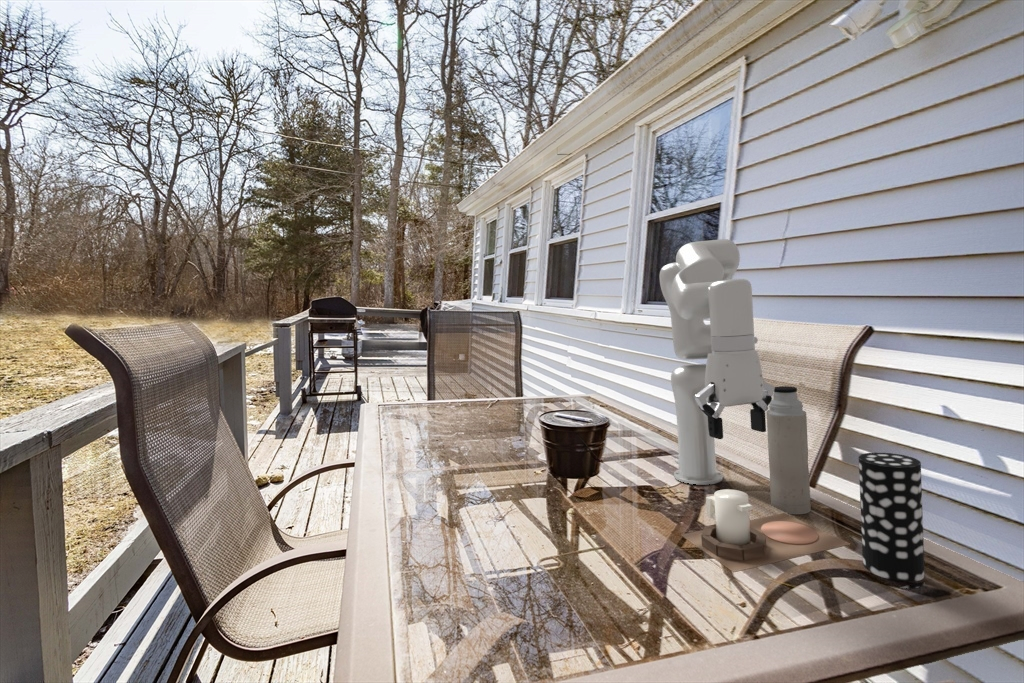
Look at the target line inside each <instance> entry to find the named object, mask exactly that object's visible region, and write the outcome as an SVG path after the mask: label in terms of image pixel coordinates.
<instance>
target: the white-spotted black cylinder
mask: <svg viewBox="0 0 1024 683" xmlns="http://www.w3.org/2000/svg"><path fill="white" fill-rule="evenodd" d="M858 472H859V473H858V479H859V498H860V499H859V500H860V502H859V503H860V504H859V505H860V522H861V523H860V525H861V530H860V531H861V552H862V553H861V554H862V565H863V567H864V568H865V569H866V570H867V571H868V572H869V573H872V574H874V575H875V576H878V577H881V578H884V579H888V580H891V581H894V582H895V581H897V582H902V583H903V582H904V583H905V582H906V583H911V584H908V585H904V586H900V587H899V589H906V588H907V589H909V588H910V589H911V588H912V589H917V588H918V589H919V588H921V587H923V586H924V585H925V582H926V581H925V580H924V578H925V575H926V574H925V553H924V552H925V548H924V547H925V546H924V520H923V518H924V517H923V494H922V491H923V490H922V489H923V487H922V486H923V485H922V462H921V461H920V460H919V459H918V458H914V457H913V456H912V457H911V456H908V455H904V454H900V453H899V454H898V453H893V452H892V453H891V452H866V453H862V454H859V455H858ZM921 580H922V581H921ZM913 582H915V583H913ZM907 589H906V590H907ZM910 589H909V590H910Z"/></svg>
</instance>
